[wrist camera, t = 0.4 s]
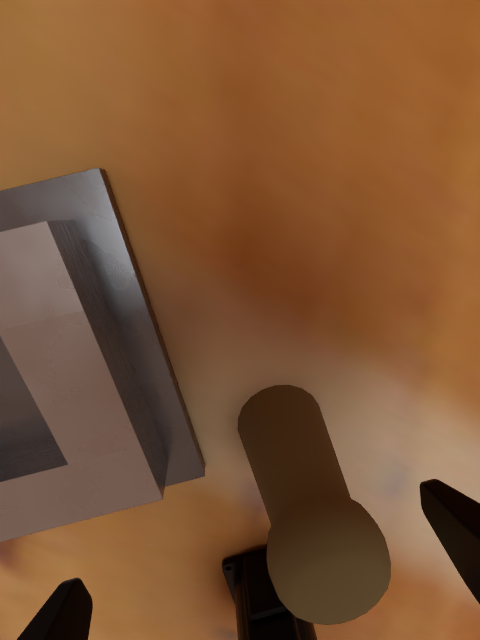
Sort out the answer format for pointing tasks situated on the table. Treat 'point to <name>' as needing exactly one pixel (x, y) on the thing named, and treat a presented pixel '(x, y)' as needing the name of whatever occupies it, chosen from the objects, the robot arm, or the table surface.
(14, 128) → the table surface
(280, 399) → the cork
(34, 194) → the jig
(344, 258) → the table surface
